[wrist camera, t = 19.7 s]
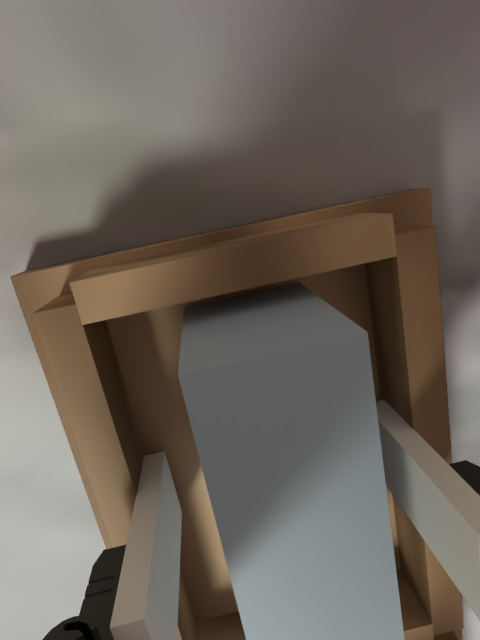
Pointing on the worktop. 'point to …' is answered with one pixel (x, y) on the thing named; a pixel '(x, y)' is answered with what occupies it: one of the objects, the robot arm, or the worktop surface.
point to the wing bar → (293, 464)
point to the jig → (166, 394)
